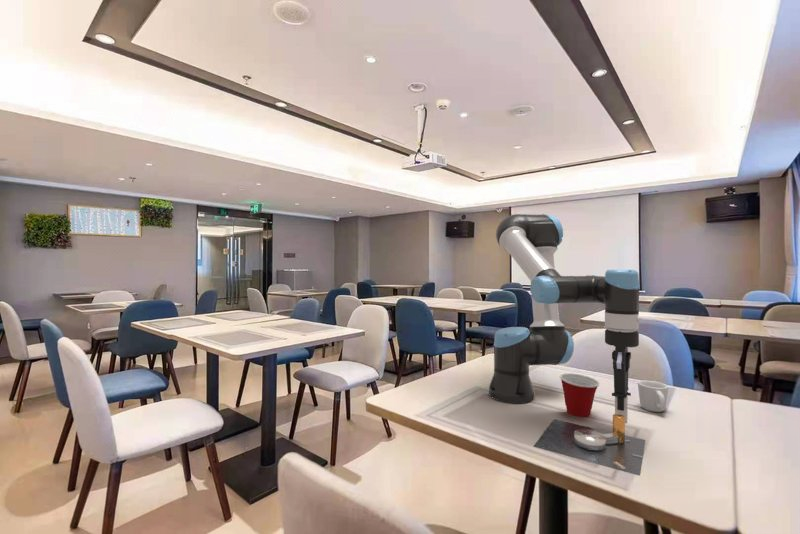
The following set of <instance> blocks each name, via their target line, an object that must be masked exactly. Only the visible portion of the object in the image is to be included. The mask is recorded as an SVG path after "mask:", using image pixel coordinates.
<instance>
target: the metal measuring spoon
mask: <svg viewBox="0 0 800 534" xmlns="http://www.w3.org/2000/svg"><path fill="white" fill-rule="evenodd" d="M612 432H613V433H609V434H601V433H599V432H597V431H593V430H588V429H578V430H576V431H574V442H575V443H576V444H577V445H578V446H580V447H582V448H585V449H589V450H603V449H605V448H606V444H611V443H625V434H626V423H625V416H623V415H620V414H615V413H613V414H612Z"/></svg>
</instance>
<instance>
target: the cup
mask: <svg viewBox="0 0 800 534" xmlns="http://www.w3.org/2000/svg"><path fill="white" fill-rule="evenodd" d="M637 387H638V389H637V390H638V396H639V397H638V398H639V405H640V407H641V408H642V409H644V410H645V411H649V412H654V413H660V412H663V411H665V410H666V407H667V399H668V392H669V386H668V385H667V384H666V383H662V382H659V381H657V380H656V381H655V380H645V379H644V380H638V382H637Z"/></svg>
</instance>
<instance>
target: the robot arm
mask: <svg viewBox="0 0 800 534" xmlns="http://www.w3.org/2000/svg"><path fill="white" fill-rule="evenodd" d="M495 230H496V233H495V238H496V243H498V245H499V247H500V248H501V249H502V250H503V251H505V252H507V253H509V255H510V256H511V257H512V258H513V260H514V261H515V263H516V264H517V265H518V266H519V269H521V270H522V272H523V273H524V274H525V275H526V277H527V278H528V280H529V282H530V286H529V288H530V290H529V291H530V294H531V304H532V305H531V306H532V314H533V315H532V316H533V322H532V323H531V324H530V325H529V328H528V327H525V326H511V327H503V328H501V329H498V330H497V331H496V332H495V333H494V338H493V339H494V341H493V358H494V359H493V374H492V375H493V376H492V377H491V379H490V384H489V387H488V395H489V394H490V395H489V397H490V398H492V397H493V398H492V399H494V398H495V399H494V400H496V399H497V400H496V401H499V402H502V401H503V402H504V403H508V404H509V403H510V404H526V403H531V402H532V401H535V390H534V387H533V384H532V380H531V377H530V366H546V365H547V366H557V365H564V364H566V363H568V362H570V360H571V358H572V356H573V353H574V350H575V349H574V348H575V343H574V338H573V337H572V333H571V332H569V331H568V330H566V328H565V324H564V323H562V322H561V320H560V314H559V312H560V311H559V304H569V303H570V304H589V303H590V304H592V303H594V304H603V305H604V328H606V329H605V330H604V343H605V344H607V345H609V346H613V347H615V348H614V349H613V351H612V352H611V359H612V369H613V392H612V393H611V396H612V397H614V414H620V415H623V416H625V424H628V413H629V412H628V408H629V407H628V404H629V403H628V402H629V401H628V399H629V398H628V396H629V397H631V394H632V393H631V392H628V391H629V370H630V368H631V358H632V352H631V351H629V348H637V347H639V345H640V344H639V343H640V341H639V340H640V333H639V332H638V331H637V330H639V328H640V327H639V325H640V322H642V320H643V319H642V317H639V316H640V315H639V312H640V287H641V285H640V280H639V279H640V277H639V272H638V271H637V270H635V269H607V270H606V271H605V274H604V275H605V276H604V275H603V276H601V275H599V276H598V275H588V274H587V275H561V274H560V273H559V272H558V271H557V270H556V268H555V257H554V254H555V253H556V252H557V250H558V246H559V245H561V244H562V242H563V237H564V228H563V224H562V222H561V221H560V220H559V219H558V218H557V217H556V216H555V215H552V214H551V215H550V214H543V213H542V214H525V213H524V214H521V213H520V214H519V213H515V214H511V215H508V216H506V217H505V218H503V219H502V220H501V221H500V222H499V224H498V226H497V229H495Z"/></svg>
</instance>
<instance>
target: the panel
mask: <svg viewBox="0 0 800 534" xmlns="http://www.w3.org/2000/svg"><path fill="white" fill-rule="evenodd" d="M578 429H588V430H593V431H597V432H599V433H601V434H609V433H613V431H612V432H611V431H607V430H603V429H599V428H594V427H590V426H586V425H581V424H577V423H572V422H567V421H565V420H559V419H553V420H552V421H551V422H550V424H549V425H548V426H547V428H546V429H545V430H544V432H543V433H542V434H541V436H539V438H538V440H537V441H536V442H535V443H534V445H533V447H534V448H537V449H541V450H544V451H548V452H552V453H555V454H559V455H563V456H567V457H570V458H574V459H576V460H577V459H578V460H581V461H585V462H589V463H592V464H596V465H599V466H603V467H607V468H610V469H613V470H616V471H621V472H624V473H627V474H633V475H634V476H641V472H642V465H643V458H644V454H645V453H644V452H645V446H646V439H644V438H639V437H634V436H629V435H625V443H611V444H606V448H605V449H603V450H589V449H585V448H582V447H580V446H578V445H577V444H576V443H575V442H574V431H576V430H578Z"/></svg>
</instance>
